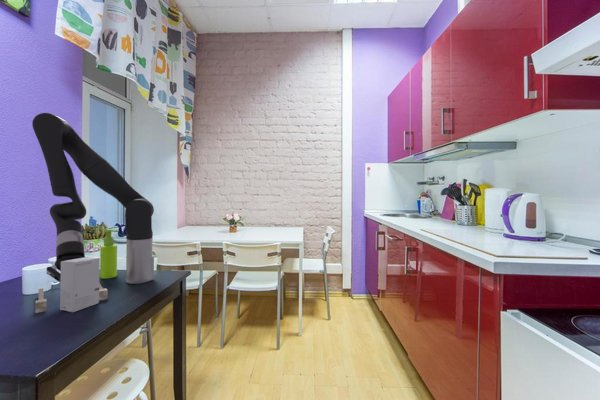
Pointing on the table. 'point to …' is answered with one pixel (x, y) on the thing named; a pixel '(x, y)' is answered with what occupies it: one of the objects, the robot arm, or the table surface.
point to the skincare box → (79, 283)
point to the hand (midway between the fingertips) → (72, 291)
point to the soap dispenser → (108, 256)
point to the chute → (42, 303)
